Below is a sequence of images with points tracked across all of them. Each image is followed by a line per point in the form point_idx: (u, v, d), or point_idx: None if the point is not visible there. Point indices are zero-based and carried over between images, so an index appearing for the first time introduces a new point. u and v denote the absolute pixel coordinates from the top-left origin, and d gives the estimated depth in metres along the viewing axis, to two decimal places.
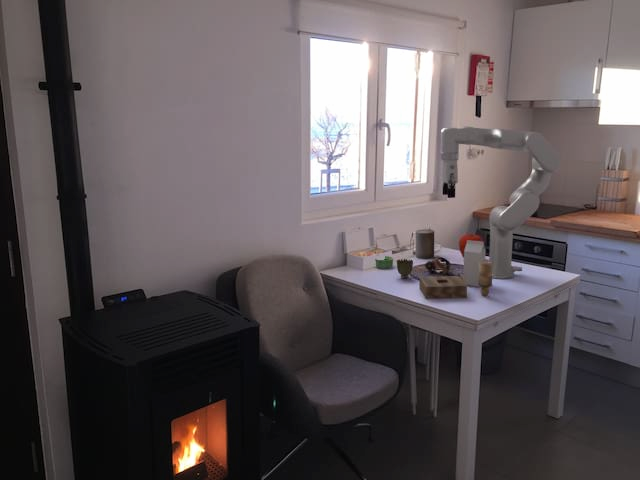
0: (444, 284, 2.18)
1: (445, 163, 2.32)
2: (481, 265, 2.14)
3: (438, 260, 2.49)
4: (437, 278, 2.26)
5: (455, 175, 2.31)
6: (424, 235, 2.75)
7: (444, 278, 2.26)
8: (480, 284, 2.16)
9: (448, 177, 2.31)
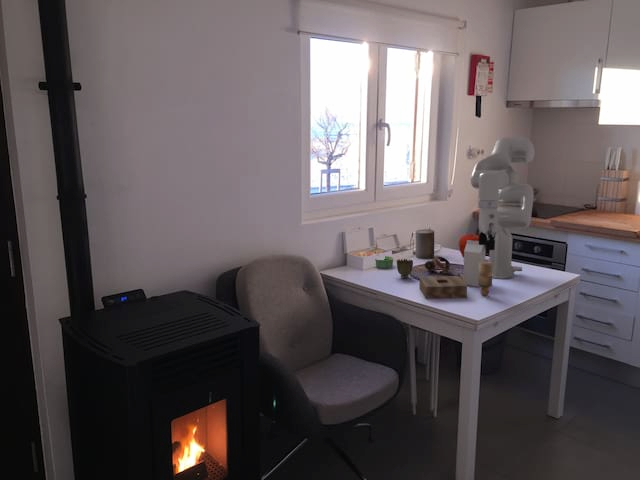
0: (444, 284, 2.18)
1: (483, 211, 2.08)
2: (481, 265, 2.14)
3: (438, 260, 2.50)
4: (437, 278, 2.26)
5: (495, 225, 2.06)
6: (424, 235, 2.75)
7: (444, 278, 2.26)
8: (480, 284, 2.16)
9: (487, 227, 2.07)
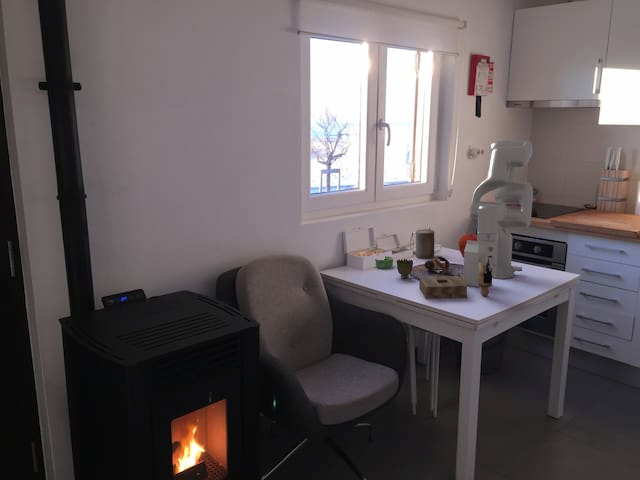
0: (444, 284, 2.18)
1: (482, 244, 2.11)
2: (481, 265, 2.14)
3: (437, 259, 2.50)
4: (437, 278, 2.26)
5: (494, 258, 2.10)
6: (424, 235, 2.75)
7: (444, 278, 2.26)
8: (480, 284, 2.16)
9: (486, 263, 2.10)
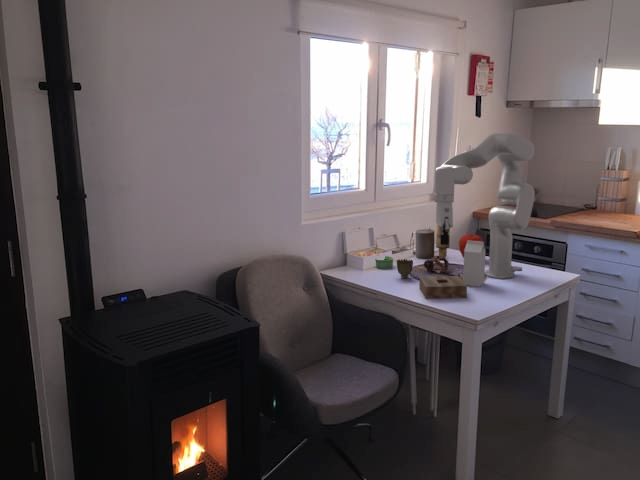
0: (444, 284, 2.18)
1: (439, 205, 2.13)
2: (438, 227, 2.16)
3: None
4: (437, 278, 2.26)
5: (450, 219, 2.11)
6: (424, 235, 2.75)
7: (444, 278, 2.26)
8: (437, 246, 2.17)
9: (442, 224, 2.12)
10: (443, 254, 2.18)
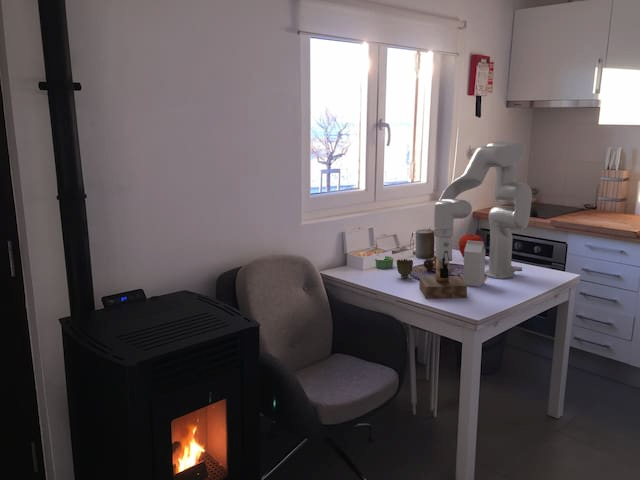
0: (444, 284, 2.18)
1: (439, 240, 2.16)
2: (438, 260, 2.19)
3: None
4: None
5: (449, 253, 2.14)
6: (424, 235, 2.75)
7: None
8: (437, 279, 2.21)
9: (442, 258, 2.15)
10: None
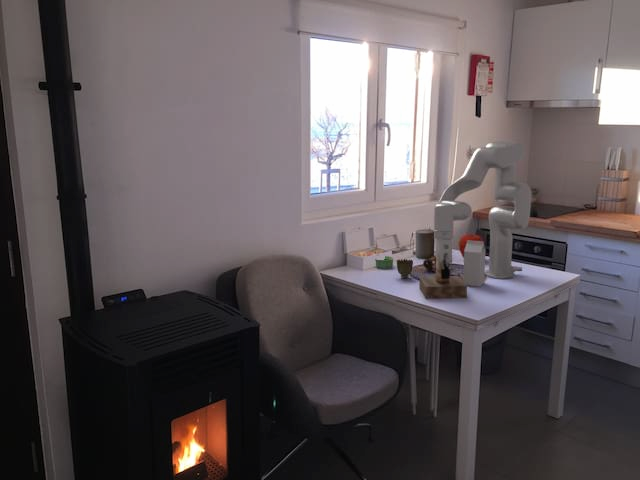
0: (444, 284, 2.18)
1: (439, 242, 2.16)
2: (438, 262, 2.19)
3: None
4: None
5: (449, 255, 2.14)
6: (424, 235, 2.75)
7: None
8: (437, 280, 2.21)
9: (442, 257, 2.15)
10: None
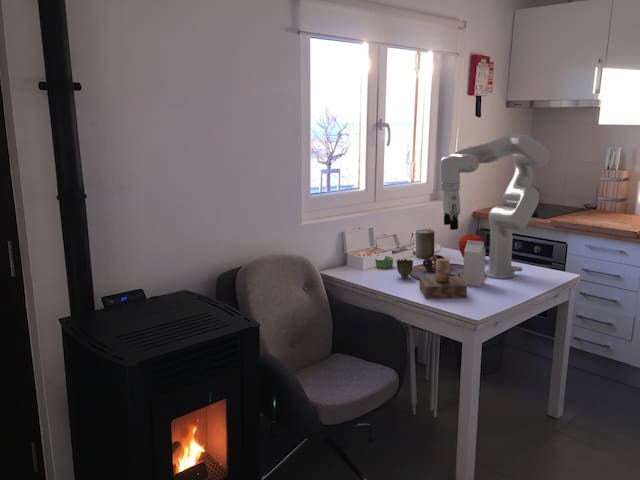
0: (444, 284, 2.18)
1: (446, 194, 2.21)
2: (438, 262, 2.19)
3: (435, 258, 2.53)
4: None
5: (457, 206, 2.20)
6: (424, 235, 2.75)
7: None
8: (437, 280, 2.21)
9: (450, 208, 2.20)
10: None
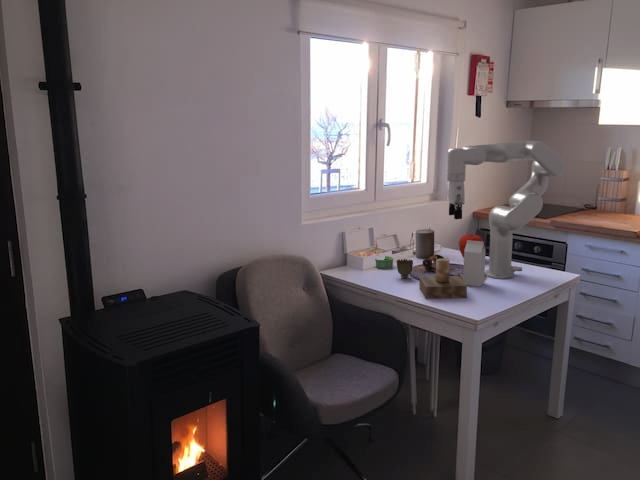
0: (444, 284, 2.18)
1: (452, 184, 2.29)
2: (438, 262, 2.19)
3: None
4: None
5: (462, 196, 2.27)
6: (424, 235, 2.75)
7: None
8: (437, 280, 2.21)
9: (455, 198, 2.28)
10: None
